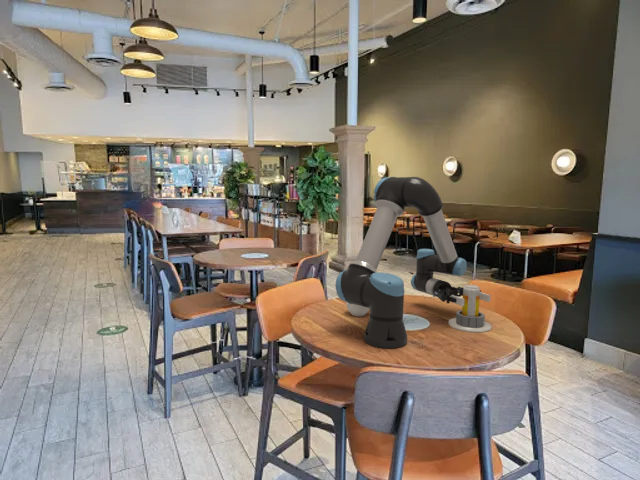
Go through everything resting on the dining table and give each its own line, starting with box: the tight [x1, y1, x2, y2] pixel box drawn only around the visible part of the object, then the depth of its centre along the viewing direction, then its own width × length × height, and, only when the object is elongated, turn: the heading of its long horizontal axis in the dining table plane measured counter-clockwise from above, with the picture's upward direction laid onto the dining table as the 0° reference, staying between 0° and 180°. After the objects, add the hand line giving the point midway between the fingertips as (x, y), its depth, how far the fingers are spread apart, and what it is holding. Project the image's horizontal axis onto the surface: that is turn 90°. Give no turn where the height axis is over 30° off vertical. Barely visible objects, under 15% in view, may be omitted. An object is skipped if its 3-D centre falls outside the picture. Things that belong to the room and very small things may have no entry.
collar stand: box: [448, 309, 493, 333], centre depth 166 cm, size 16×16×5 cm
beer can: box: [461, 284, 481, 317], centre depth 165 cm, size 6×6×15 cm
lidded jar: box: [345, 302, 370, 317], centre depth 180 cm, size 11×11×9 cm
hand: (476, 300), depth 162 cm, fingers open, 13 cm apart
